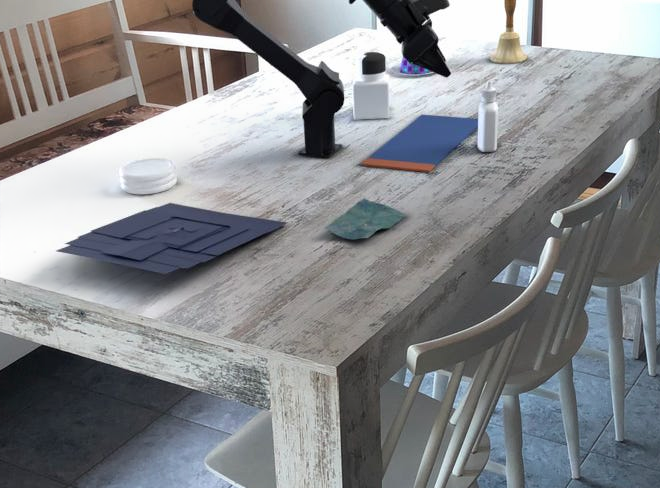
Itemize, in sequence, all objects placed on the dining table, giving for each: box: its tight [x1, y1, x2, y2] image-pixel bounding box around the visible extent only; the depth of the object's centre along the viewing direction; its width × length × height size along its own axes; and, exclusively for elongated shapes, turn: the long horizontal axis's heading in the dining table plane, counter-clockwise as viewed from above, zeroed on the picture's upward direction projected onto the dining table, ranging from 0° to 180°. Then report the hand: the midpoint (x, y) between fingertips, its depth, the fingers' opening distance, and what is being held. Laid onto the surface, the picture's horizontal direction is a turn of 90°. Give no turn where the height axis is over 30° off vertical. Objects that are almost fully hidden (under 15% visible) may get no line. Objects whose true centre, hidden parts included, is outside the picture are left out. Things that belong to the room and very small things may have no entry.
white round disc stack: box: [118, 157, 178, 195], centre depth 186 cm, size 10×10×4 cm
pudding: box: [390, 56, 435, 77], centre depth 236 cm, size 12×12×5 cm
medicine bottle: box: [352, 51, 390, 121], centre depth 209 cm, size 7×7×12 cm
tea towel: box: [360, 114, 478, 173], centre depth 195 cm, size 30×13×1 cm, turn 152°
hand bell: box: [489, 0, 528, 65], centre depth 236 cm, size 8×8×16 cm
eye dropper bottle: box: [477, 80, 499, 153], centre depth 187 cm, size 4×6×12 cm
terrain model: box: [324, 198, 407, 240], centre depth 162 cm, size 13×8×2 cm, turn 146°
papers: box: [55, 202, 289, 275], centre depth 160 cm, size 24×30×4 cm
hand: (446, 68), depth 186 cm, fingers open, 9 cm apart
